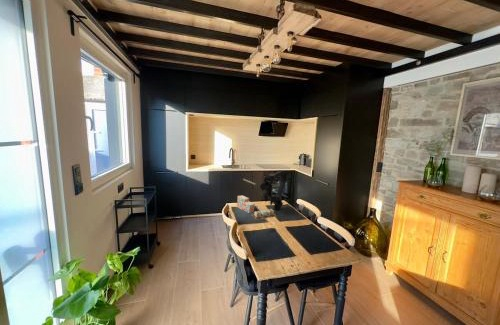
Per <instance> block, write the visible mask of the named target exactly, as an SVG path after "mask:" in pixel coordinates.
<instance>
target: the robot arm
mask: <svg viewBox="0 0 500 325" xmlns="http://www.w3.org/2000/svg"><path fill="white" fill-rule="evenodd" d="M277 178H279V179H280V182H279V186H278V189H277V191H276V194H274V193H273V190H274V189H273V184H274V182H275V179H277ZM289 179H290V176H289V174H287V172H285V171H283V170H278V171H276V172H275V173H270V174H267V175H266V176H265V178H264V179H263V182H261V184H260V185H259V187H260V190H262V191H260V195H261V196H262V197H263V198H264V201H265V203H267V202H268V199H269V202H270V203H269V204H270V206H272V205H274V206H273V211H274V212H275V211H277V212H279V211H281V210H282V207H283V205H284V203H283V201H282V200H283V199H282V198H283V197H282V195H283V192H284V188H285V185H286V183H287V182H288V181H289ZM261 196H260V197H261ZM268 197H269V198H268Z"/></svg>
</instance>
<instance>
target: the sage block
mask: <svg viewBox="0 0 500 325" xmlns="http://www.w3.org/2000/svg"><path fill="white" fill-rule="evenodd" d="M260 212H261V215H263V216H265V215H267V209H262V210H260Z"/></svg>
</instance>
